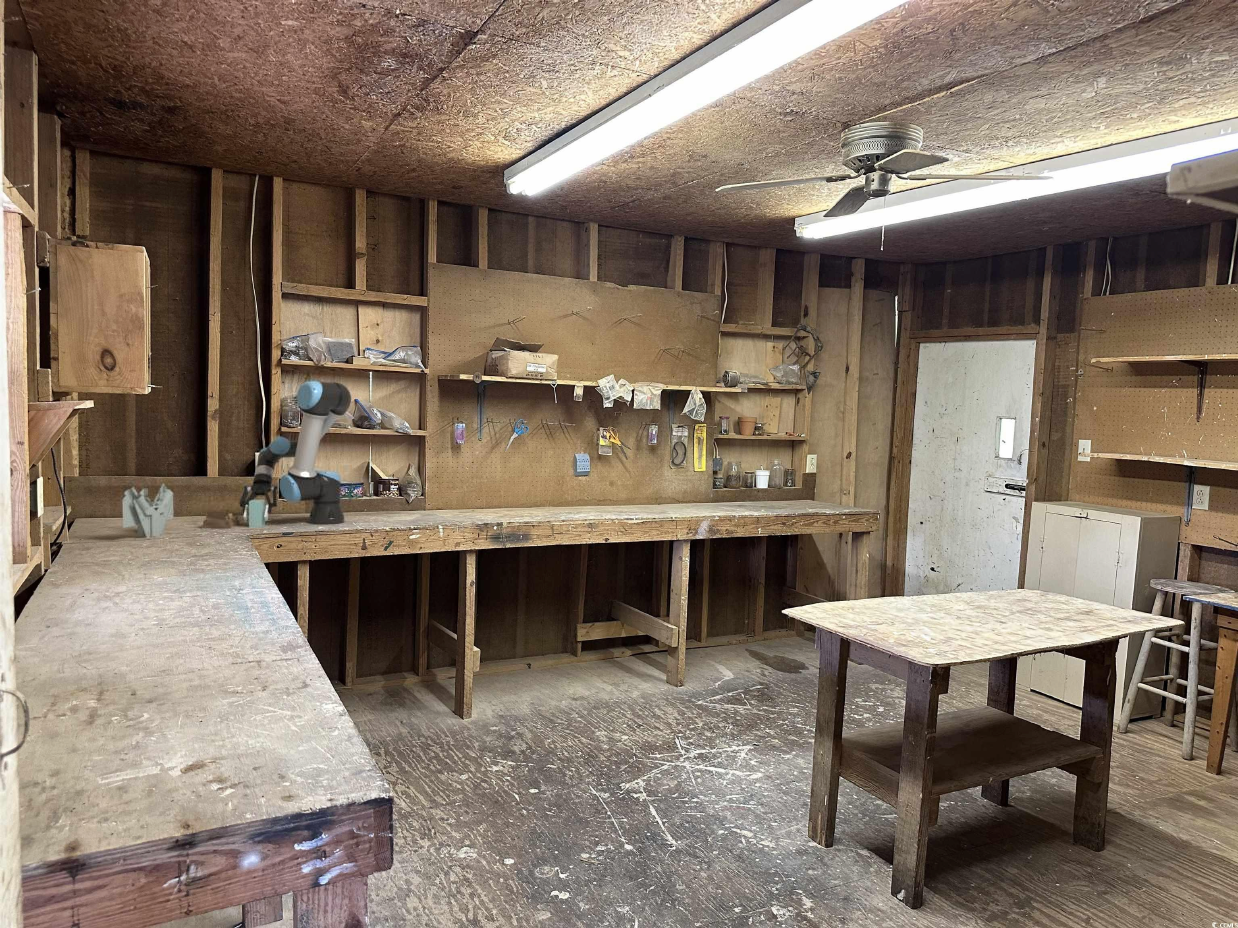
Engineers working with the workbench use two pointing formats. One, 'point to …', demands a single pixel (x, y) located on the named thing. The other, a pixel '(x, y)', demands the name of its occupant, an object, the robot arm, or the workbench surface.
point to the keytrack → (219, 520)
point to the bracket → (147, 511)
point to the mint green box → (256, 513)
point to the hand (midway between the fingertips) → (255, 518)
